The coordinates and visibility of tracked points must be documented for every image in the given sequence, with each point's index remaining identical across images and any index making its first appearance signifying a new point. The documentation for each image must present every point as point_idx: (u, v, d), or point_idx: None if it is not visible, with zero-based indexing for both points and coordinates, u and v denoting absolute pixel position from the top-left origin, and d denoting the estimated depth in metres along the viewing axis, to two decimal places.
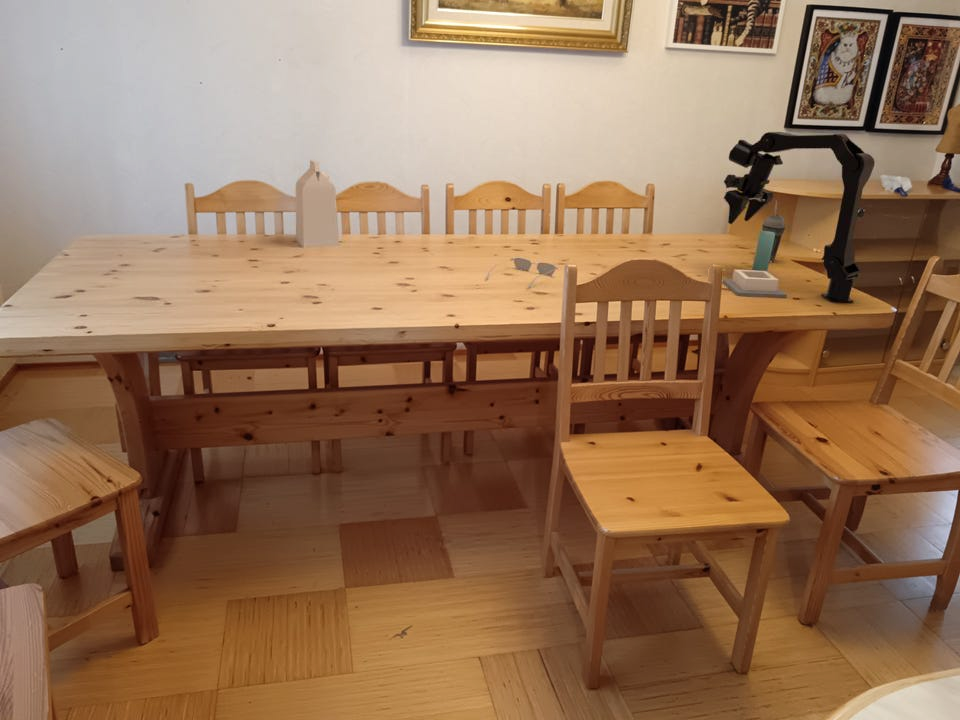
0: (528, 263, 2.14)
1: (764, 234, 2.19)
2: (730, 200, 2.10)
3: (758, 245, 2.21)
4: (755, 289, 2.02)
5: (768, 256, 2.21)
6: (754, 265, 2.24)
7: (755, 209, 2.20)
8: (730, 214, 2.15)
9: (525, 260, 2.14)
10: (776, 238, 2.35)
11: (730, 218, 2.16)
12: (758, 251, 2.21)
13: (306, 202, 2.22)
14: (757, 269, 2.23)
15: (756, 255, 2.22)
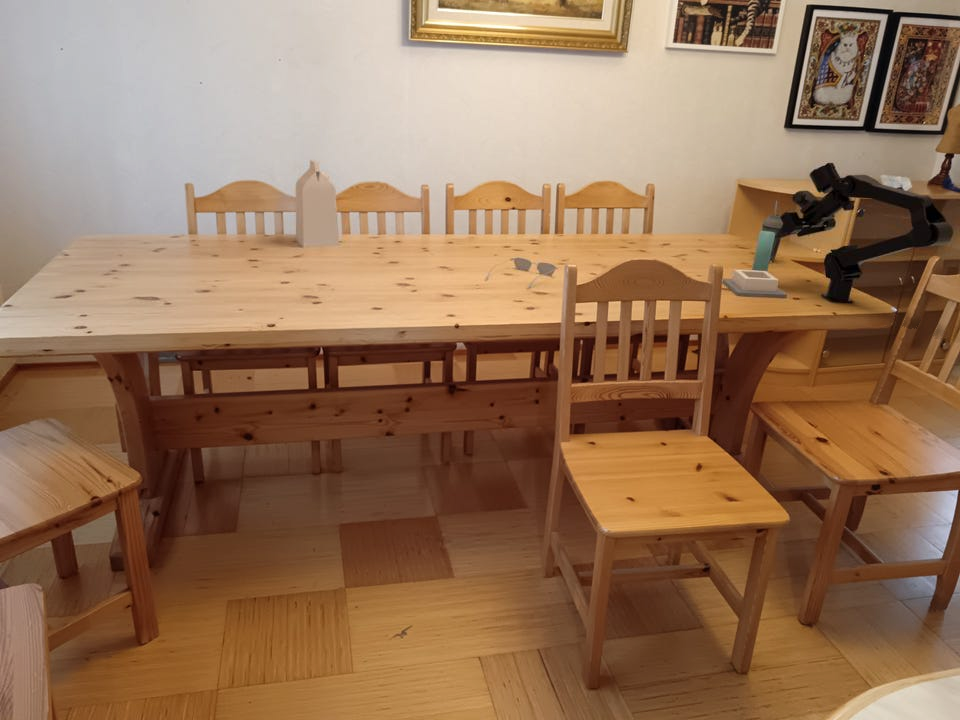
0: (528, 263, 2.14)
1: (764, 234, 2.19)
2: (784, 222, 2.03)
3: (758, 245, 2.21)
4: (755, 289, 2.02)
5: (768, 256, 2.21)
6: (754, 265, 2.24)
7: (811, 231, 2.12)
8: (780, 231, 2.09)
9: (525, 259, 2.14)
10: (776, 238, 2.35)
11: (779, 234, 2.10)
12: (758, 251, 2.21)
13: (306, 202, 2.22)
14: (757, 269, 2.23)
15: (756, 255, 2.22)
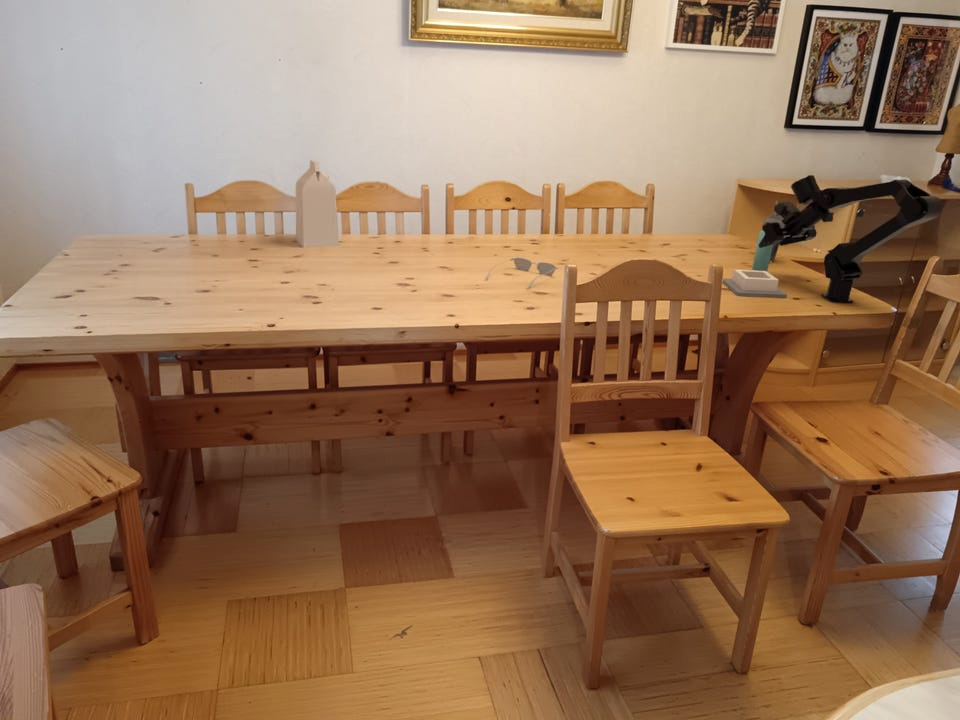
0: (528, 263, 2.14)
1: (764, 234, 2.19)
2: (765, 232, 2.09)
3: (758, 245, 2.21)
4: (755, 289, 2.02)
5: (768, 256, 2.21)
6: (754, 265, 2.24)
7: (792, 241, 2.18)
8: (762, 240, 2.15)
9: (525, 259, 2.14)
10: None
11: (761, 243, 2.16)
12: (758, 251, 2.21)
13: (306, 202, 2.22)
14: (757, 269, 2.23)
15: (756, 255, 2.22)
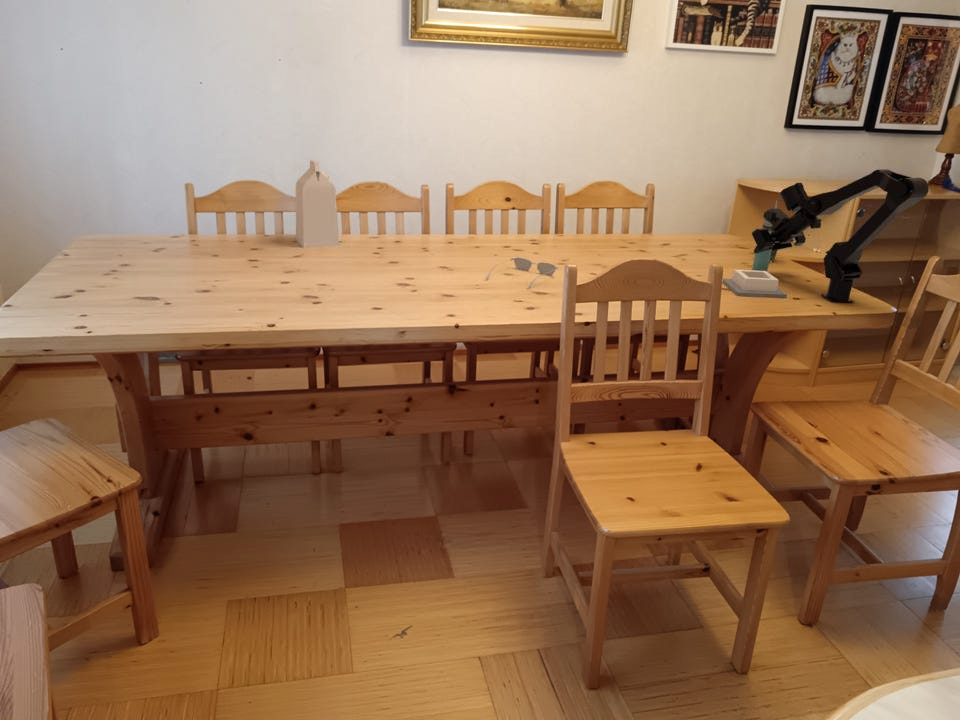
0: (528, 263, 2.14)
1: None
2: (755, 239, 2.13)
3: None
4: (755, 289, 2.02)
5: (768, 256, 2.21)
6: (754, 265, 2.24)
7: (777, 247, 2.21)
8: (757, 246, 2.20)
9: (526, 259, 2.14)
10: None
11: (756, 249, 2.21)
12: None
13: (306, 202, 2.22)
14: (757, 269, 2.23)
15: (756, 255, 2.22)
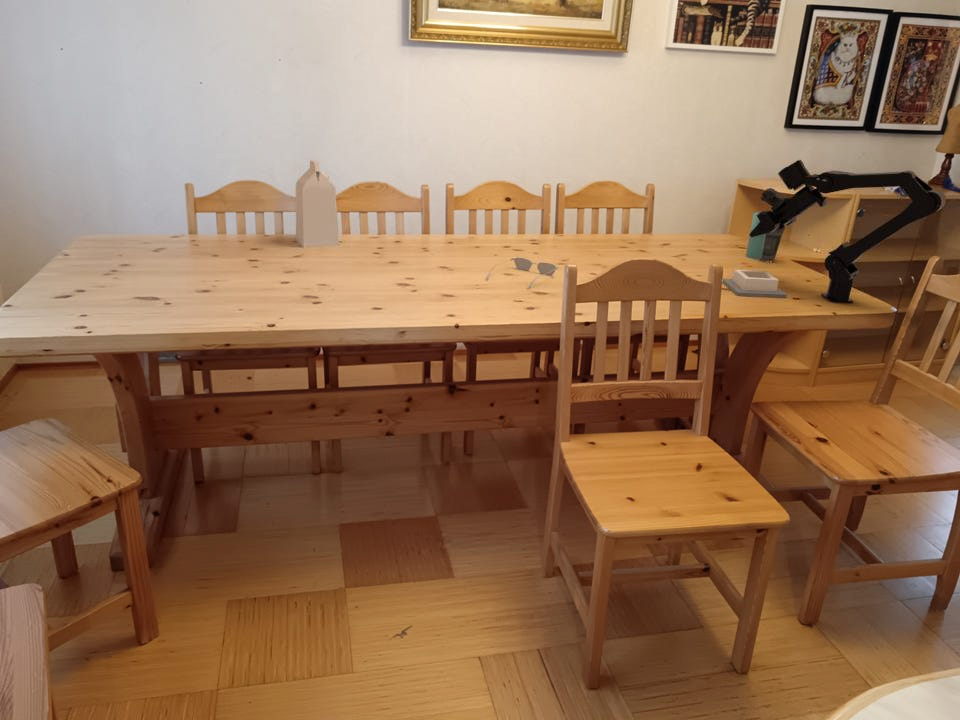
0: (528, 263, 2.14)
1: None
2: (762, 222, 2.01)
3: None
4: (755, 289, 2.02)
5: (764, 239, 2.11)
6: (750, 249, 2.13)
7: None
8: (755, 229, 2.09)
9: (526, 259, 2.14)
10: (776, 238, 2.35)
11: (753, 232, 2.10)
12: None
13: (306, 202, 2.22)
14: (754, 253, 2.12)
15: (752, 239, 2.12)
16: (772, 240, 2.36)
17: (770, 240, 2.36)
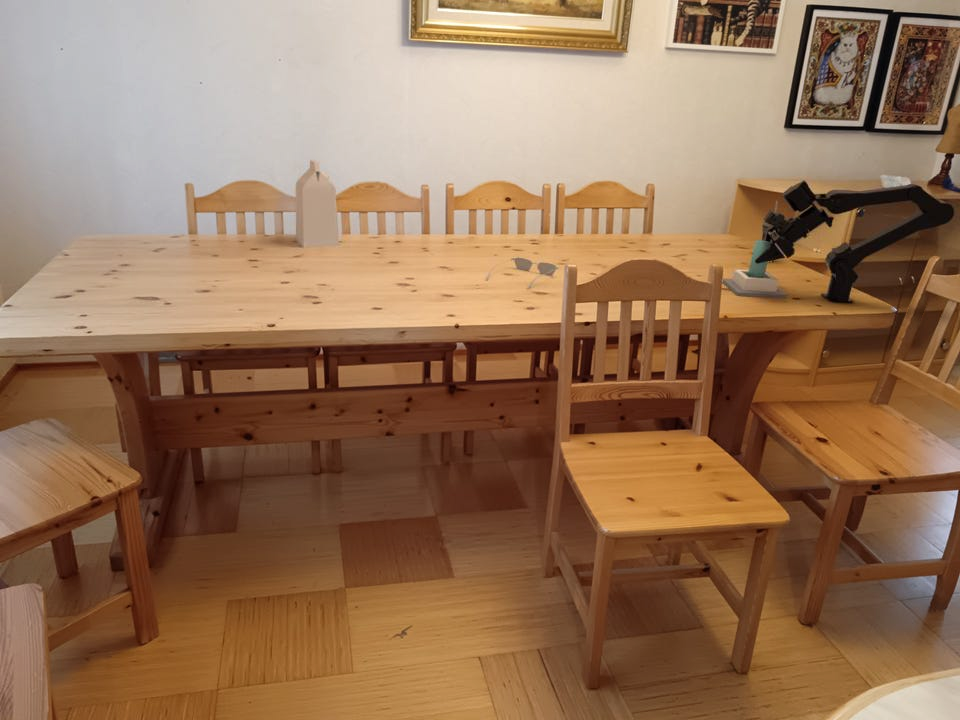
0: (529, 263, 2.14)
1: (766, 245, 2.00)
2: (781, 248, 1.92)
3: None
4: (755, 289, 2.02)
5: None
6: None
7: None
8: (764, 255, 1.98)
9: (526, 259, 2.14)
10: None
11: (760, 258, 1.99)
12: (759, 263, 2.02)
13: (306, 202, 2.22)
14: None
15: (756, 268, 2.03)
16: None
17: None
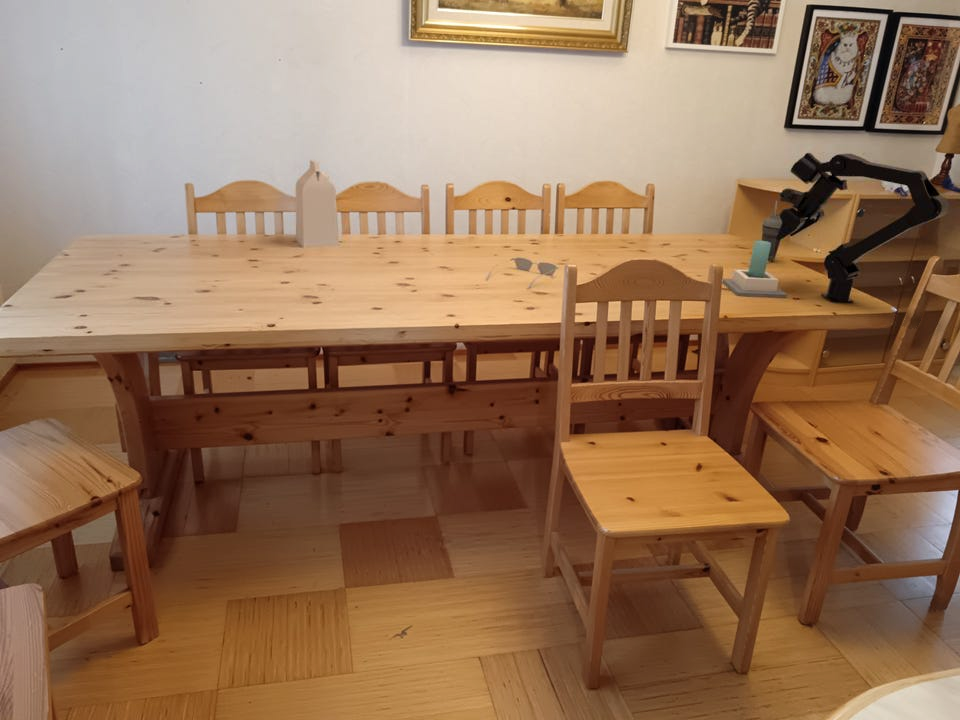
0: (529, 263, 2.14)
1: (766, 245, 2.00)
2: (786, 219, 1.98)
3: (758, 257, 2.02)
4: (755, 289, 2.02)
5: (765, 267, 2.04)
6: None
7: (803, 226, 2.09)
8: (780, 231, 2.04)
9: (526, 259, 2.14)
10: None
11: (779, 235, 2.05)
12: (758, 263, 2.02)
13: (306, 202, 2.22)
14: None
15: (756, 268, 2.03)
16: (772, 240, 2.36)
17: (770, 240, 2.36)
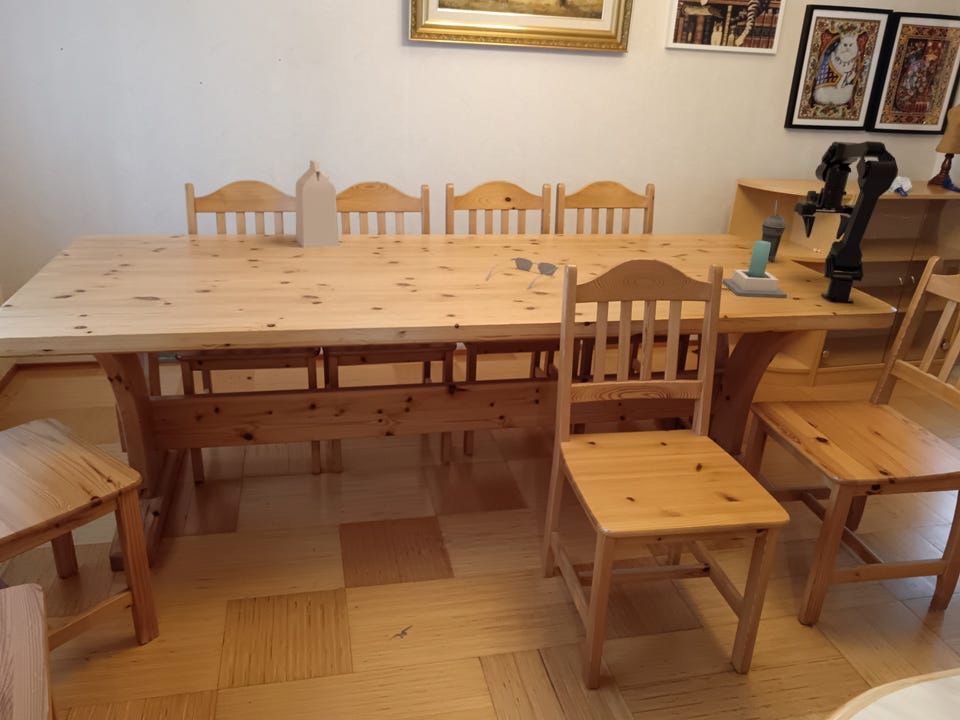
0: (529, 263, 2.14)
1: (766, 245, 2.00)
2: (797, 210, 2.13)
3: (758, 257, 2.02)
4: (755, 289, 2.02)
5: (765, 267, 2.04)
6: None
7: (844, 226, 2.13)
8: (805, 227, 2.15)
9: (526, 259, 2.14)
10: (776, 238, 2.35)
11: (806, 231, 2.15)
12: (758, 263, 2.02)
13: (306, 202, 2.22)
14: None
15: (756, 268, 2.03)
16: (772, 240, 2.36)
17: (770, 240, 2.36)
